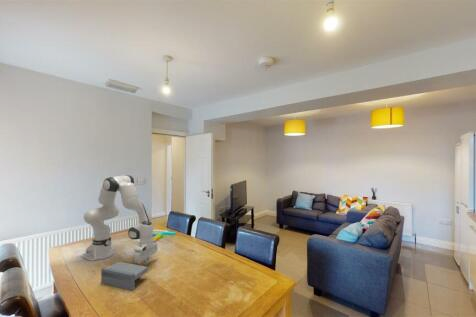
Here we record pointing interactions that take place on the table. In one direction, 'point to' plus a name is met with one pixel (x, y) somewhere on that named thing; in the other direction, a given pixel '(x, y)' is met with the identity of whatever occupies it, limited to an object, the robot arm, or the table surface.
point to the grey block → (122, 275)
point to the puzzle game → (157, 235)
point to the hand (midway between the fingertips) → (146, 263)
